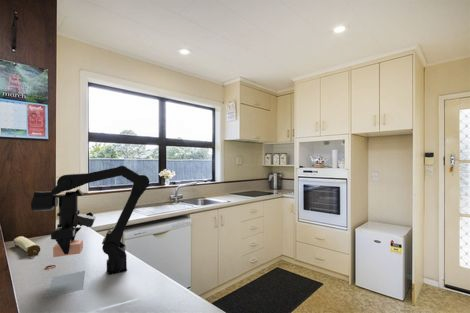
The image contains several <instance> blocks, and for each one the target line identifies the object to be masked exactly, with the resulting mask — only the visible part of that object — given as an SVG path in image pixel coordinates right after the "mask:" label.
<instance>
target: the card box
mask: <svg viewBox="0 0 470 313" xmlns="http://www.w3.org/2000/svg"><path fill="white" fill-rule="evenodd" d="M52 247H53V248H52V251H53V252H52V254H53V255H52V257H53V258H57V257H64V256H65V257H66V256H73V255H79V254H81V253H82V251H83V249H84V240H83V239H75V240H74V241H71V244H70V249H69V253H68V254H64V252H63V251H62V249H61V247H60V246H59V244H58V243H57V242H56V244H55V245H54V246H52Z"/></svg>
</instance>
